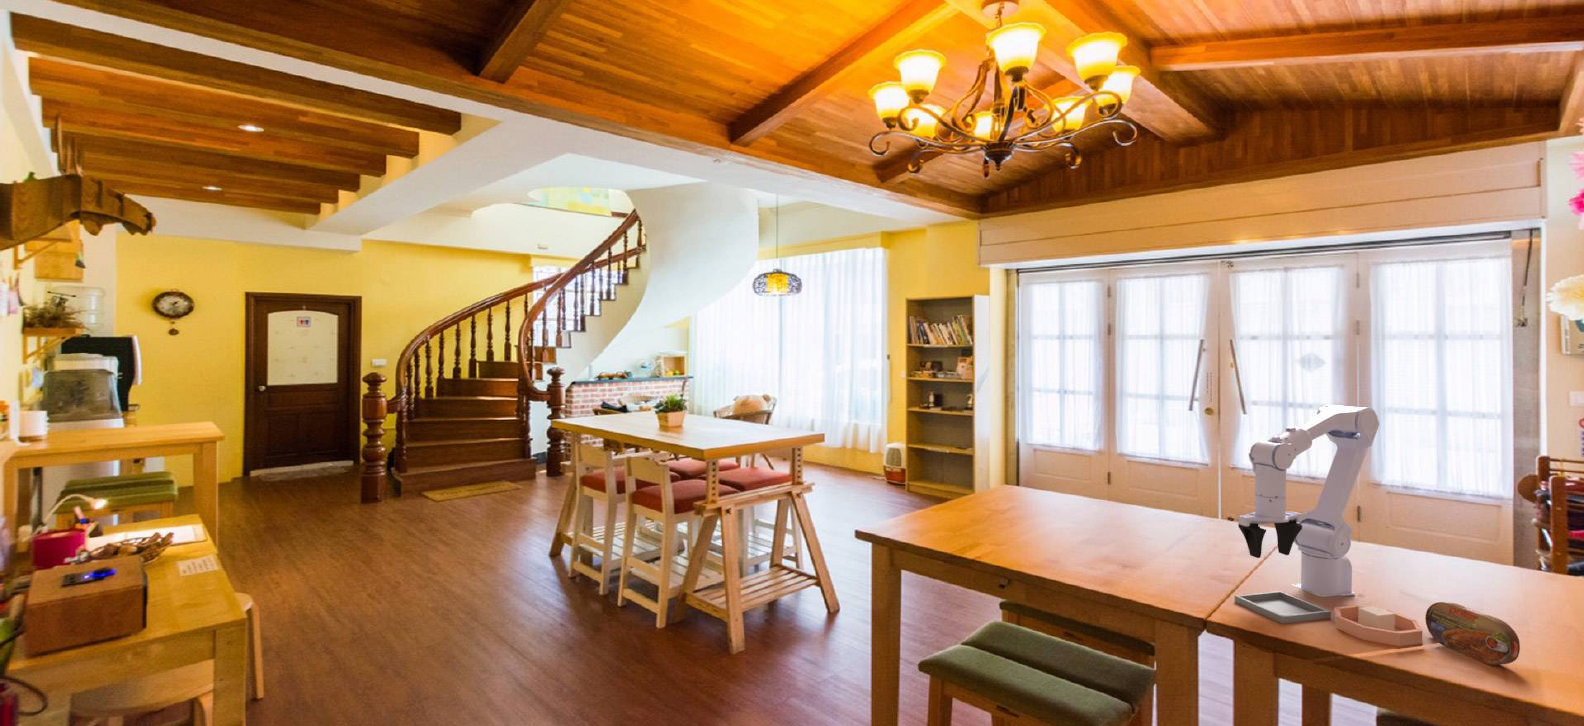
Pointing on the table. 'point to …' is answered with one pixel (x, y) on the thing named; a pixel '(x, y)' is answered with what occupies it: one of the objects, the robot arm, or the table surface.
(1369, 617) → the beige cube
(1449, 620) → the tin
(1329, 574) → the robot arm
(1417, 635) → the bowl
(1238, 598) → the parts tray
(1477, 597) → the table surface
